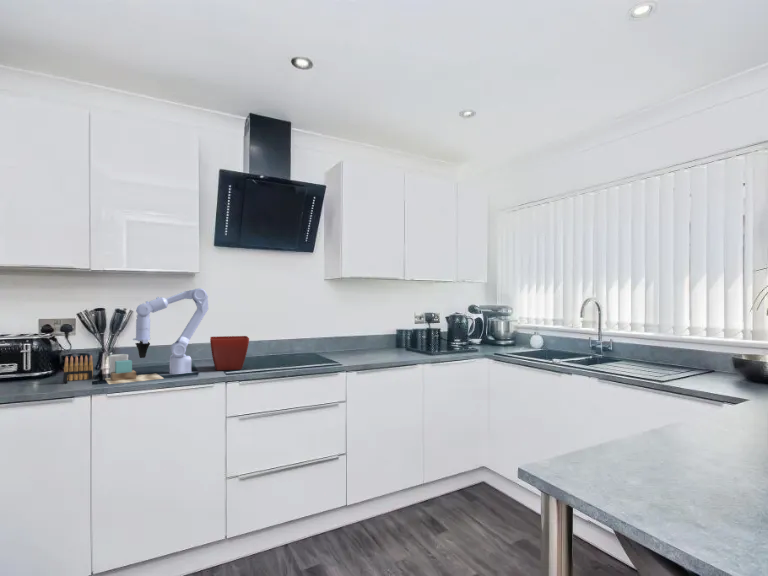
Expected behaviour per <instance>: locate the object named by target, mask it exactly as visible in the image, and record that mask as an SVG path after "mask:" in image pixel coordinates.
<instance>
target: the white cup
mask: <svg viewBox="0 0 768 576" xmlns="http://www.w3.org/2000/svg"><path fill="white" fill-rule="evenodd" d="M108 358H109V359H108V362H109V363H108V364H109V375H110V376H111V372H115V361H123V360H129V354H128V353H127V354H126V353H120V354H119V353H118V354H117V353H116V354H111V355H109V356H108Z"/></svg>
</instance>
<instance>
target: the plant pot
mask: <svg viewBox="0 0 768 576" xmlns="http://www.w3.org/2000/svg"><path fill="white" fill-rule="evenodd" d="M209 338H210V341H209V343H210V349H211V350H210V351H211V356H212V362H213V366H214V368H215V371H232V370H233V371H234V370H237V371H238V370H243V366H244V364H245V360H246V358H247V357H246V356H247V354H248V348H249V345H250V344H249V343H250V338H249V337H248V335H231V336H229V335H228V336H227V335H226V336H210V337H209Z"/></svg>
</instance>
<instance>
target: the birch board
mask: <svg viewBox="0 0 768 576" xmlns="http://www.w3.org/2000/svg"><path fill="white" fill-rule="evenodd" d="M163 379H165V378H164V377H163V376H161V375H160V374H158V373H149V374H148V373H147V374H136V379H128V380H118V381H112V380H111V377H105V378H104V380H105V381H106V383H107V384H108V385H114V384H115V385H117V384H126V383H137V382H145V381H153V380H156V381H157V380H163Z"/></svg>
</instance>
